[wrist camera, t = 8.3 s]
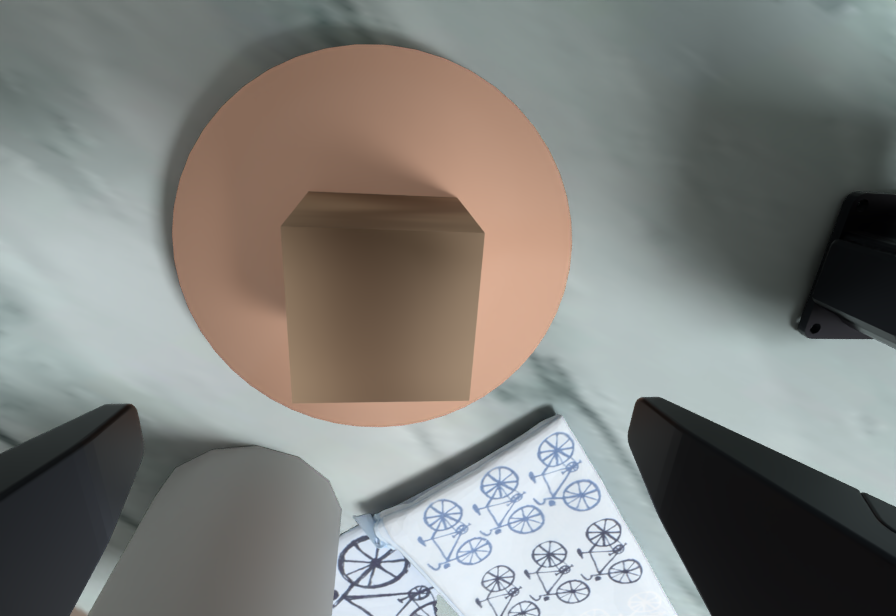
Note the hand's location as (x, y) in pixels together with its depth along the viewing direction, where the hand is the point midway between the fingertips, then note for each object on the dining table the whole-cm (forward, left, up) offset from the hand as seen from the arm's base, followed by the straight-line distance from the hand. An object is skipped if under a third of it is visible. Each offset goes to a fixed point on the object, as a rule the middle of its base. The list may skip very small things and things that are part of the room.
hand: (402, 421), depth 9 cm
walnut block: (0, 0, -10) cm, 10 cm away
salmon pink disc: (0, 0, -11) cm, 11 cm away
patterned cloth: (-5, +20, -12) cm, 24 cm away
